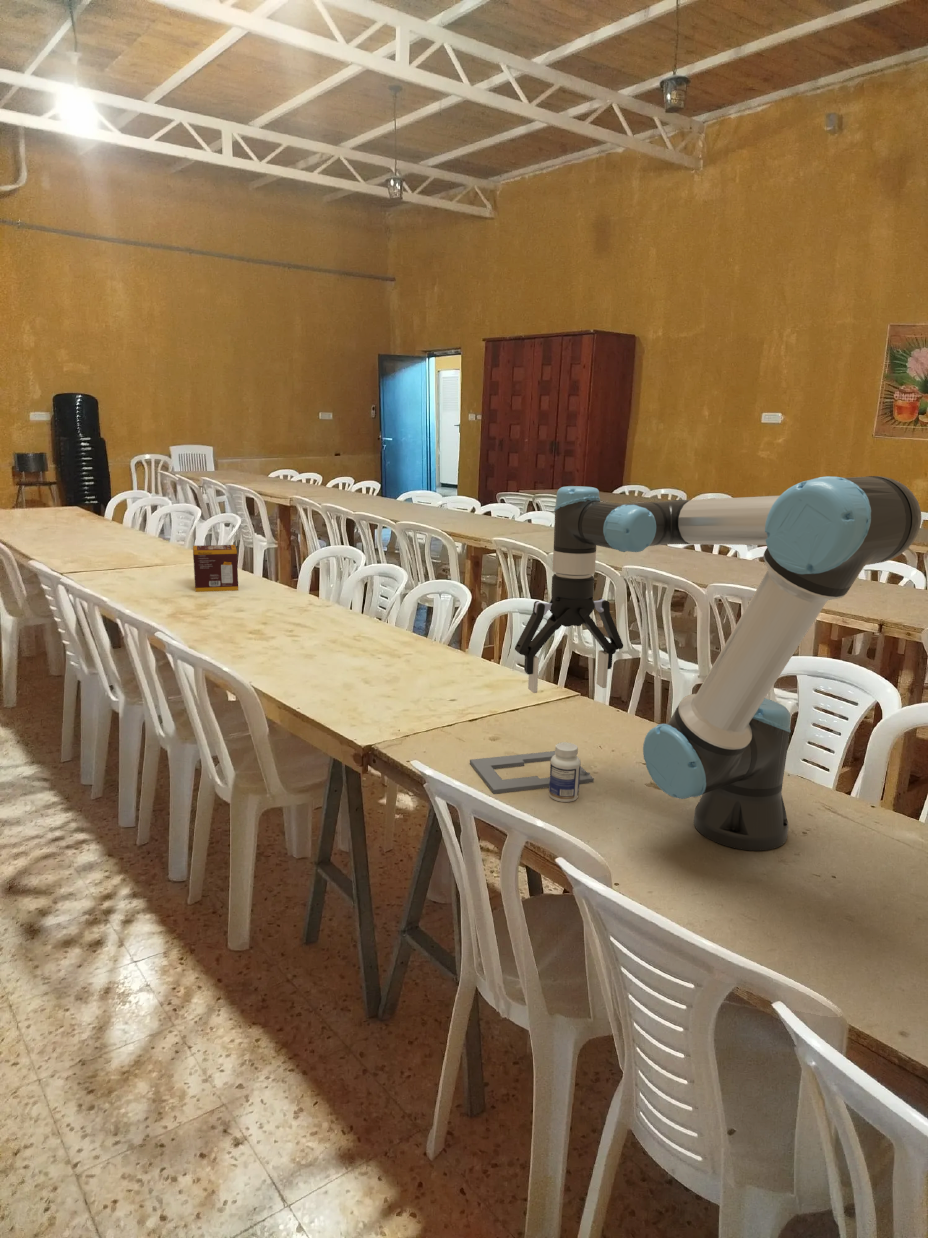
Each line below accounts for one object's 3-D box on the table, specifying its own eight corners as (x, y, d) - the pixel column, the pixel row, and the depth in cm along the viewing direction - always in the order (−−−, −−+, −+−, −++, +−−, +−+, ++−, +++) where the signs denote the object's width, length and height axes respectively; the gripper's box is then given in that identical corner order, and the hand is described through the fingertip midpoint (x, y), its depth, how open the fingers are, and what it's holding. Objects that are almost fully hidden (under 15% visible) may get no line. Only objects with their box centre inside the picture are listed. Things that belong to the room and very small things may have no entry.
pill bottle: (559, 787, 158) (562, 738, 155) (583, 796, 154) (587, 746, 152) (542, 796, 153) (545, 746, 151) (567, 806, 150) (571, 754, 148)
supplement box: (194, 586, 318) (192, 545, 314) (237, 585, 323) (235, 544, 319) (194, 592, 308) (192, 549, 305) (238, 590, 313) (237, 548, 309)
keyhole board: (595, 782, 160) (595, 778, 160) (493, 793, 154) (493, 789, 154) (564, 753, 173) (565, 749, 173) (469, 763, 167) (469, 759, 167)
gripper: (627, 568, 158) (620, 678, 163) (500, 572, 151) (496, 686, 156) (646, 576, 151) (638, 690, 156) (514, 580, 144) (509, 699, 149)
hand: (567, 688), depth 156 cm, fingers open, 13 cm apart
